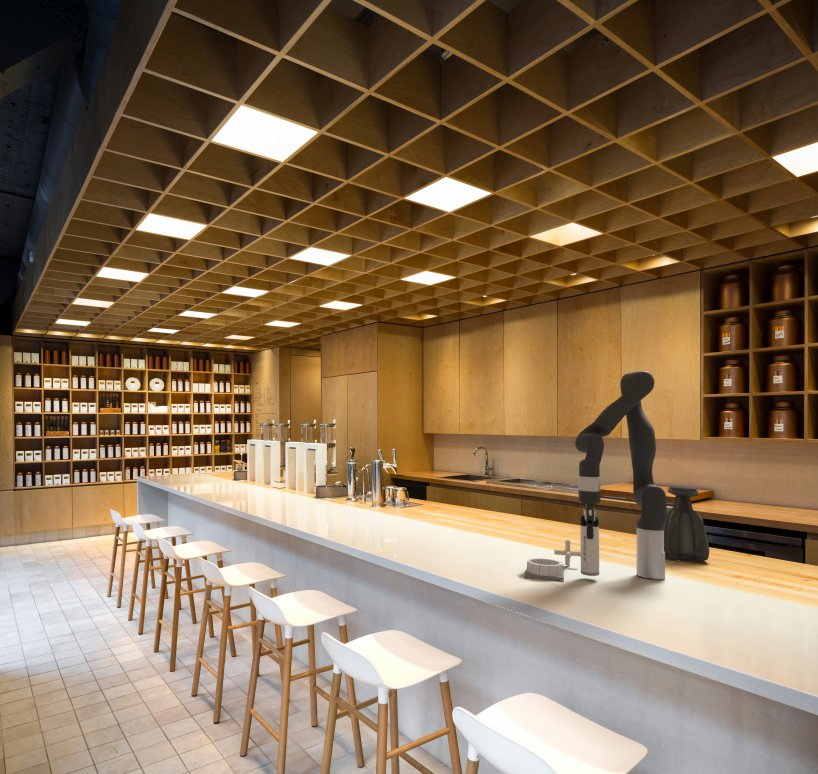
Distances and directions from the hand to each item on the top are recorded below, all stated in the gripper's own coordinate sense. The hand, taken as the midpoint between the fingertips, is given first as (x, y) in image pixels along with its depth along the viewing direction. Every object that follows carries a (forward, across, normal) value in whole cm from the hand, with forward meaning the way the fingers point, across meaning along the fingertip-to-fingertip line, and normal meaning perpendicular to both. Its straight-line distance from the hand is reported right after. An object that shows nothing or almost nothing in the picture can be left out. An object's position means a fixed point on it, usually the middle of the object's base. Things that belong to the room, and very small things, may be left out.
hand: (589, 537), depth 204 cm
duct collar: (+14, 0, +15) cm, 21 cm away
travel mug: (+13, 0, 0) cm, 13 cm away
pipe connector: (+15, +19, +7) cm, 25 cm away
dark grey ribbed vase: (+16, +58, -41) cm, 72 cm away
